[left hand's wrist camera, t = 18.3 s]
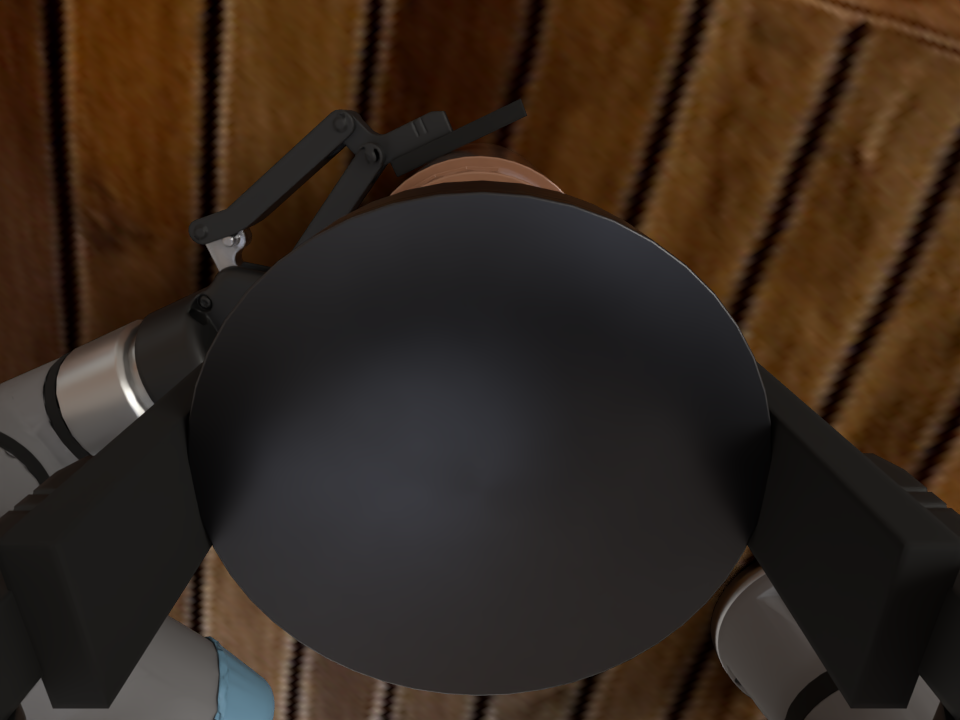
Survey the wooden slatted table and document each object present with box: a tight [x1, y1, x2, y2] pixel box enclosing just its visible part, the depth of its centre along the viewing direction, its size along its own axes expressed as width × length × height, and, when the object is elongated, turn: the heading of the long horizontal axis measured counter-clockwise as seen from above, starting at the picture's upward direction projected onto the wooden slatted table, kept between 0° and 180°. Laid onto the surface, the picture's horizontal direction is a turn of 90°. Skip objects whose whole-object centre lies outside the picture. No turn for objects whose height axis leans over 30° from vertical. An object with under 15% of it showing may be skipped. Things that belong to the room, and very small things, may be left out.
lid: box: [188, 180, 772, 695], centre depth 11 cm, size 10×10×2 cm
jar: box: [391, 143, 565, 195], centre depth 29 cm, size 9×9×15 cm
